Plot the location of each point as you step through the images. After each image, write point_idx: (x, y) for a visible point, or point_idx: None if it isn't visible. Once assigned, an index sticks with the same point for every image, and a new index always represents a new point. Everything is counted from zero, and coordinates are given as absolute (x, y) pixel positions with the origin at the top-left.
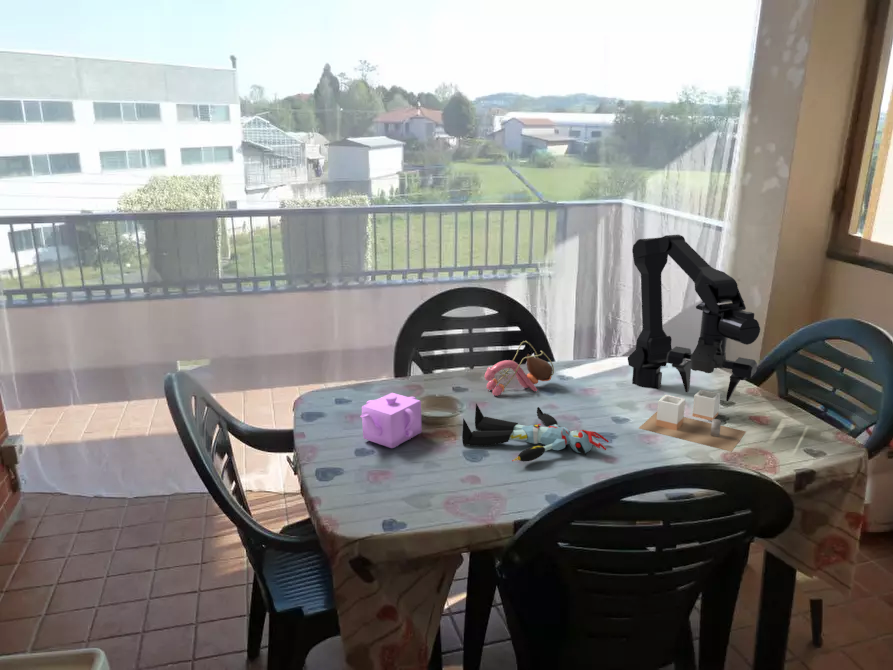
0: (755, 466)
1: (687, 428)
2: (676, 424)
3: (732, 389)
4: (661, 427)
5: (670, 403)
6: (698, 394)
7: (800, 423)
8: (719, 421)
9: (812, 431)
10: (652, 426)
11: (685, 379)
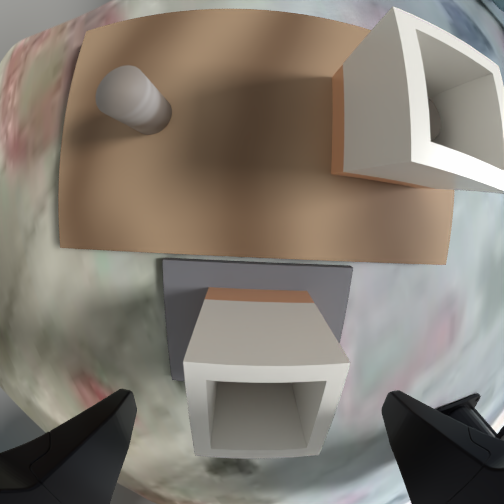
0: (41, 44)
1: (293, 121)
2: (343, 64)
3: (50, 433)
4: None
5: (444, 32)
6: (323, 392)
7: (37, 403)
8: (102, 87)
9: (5, 366)
10: None
11: (455, 437)
